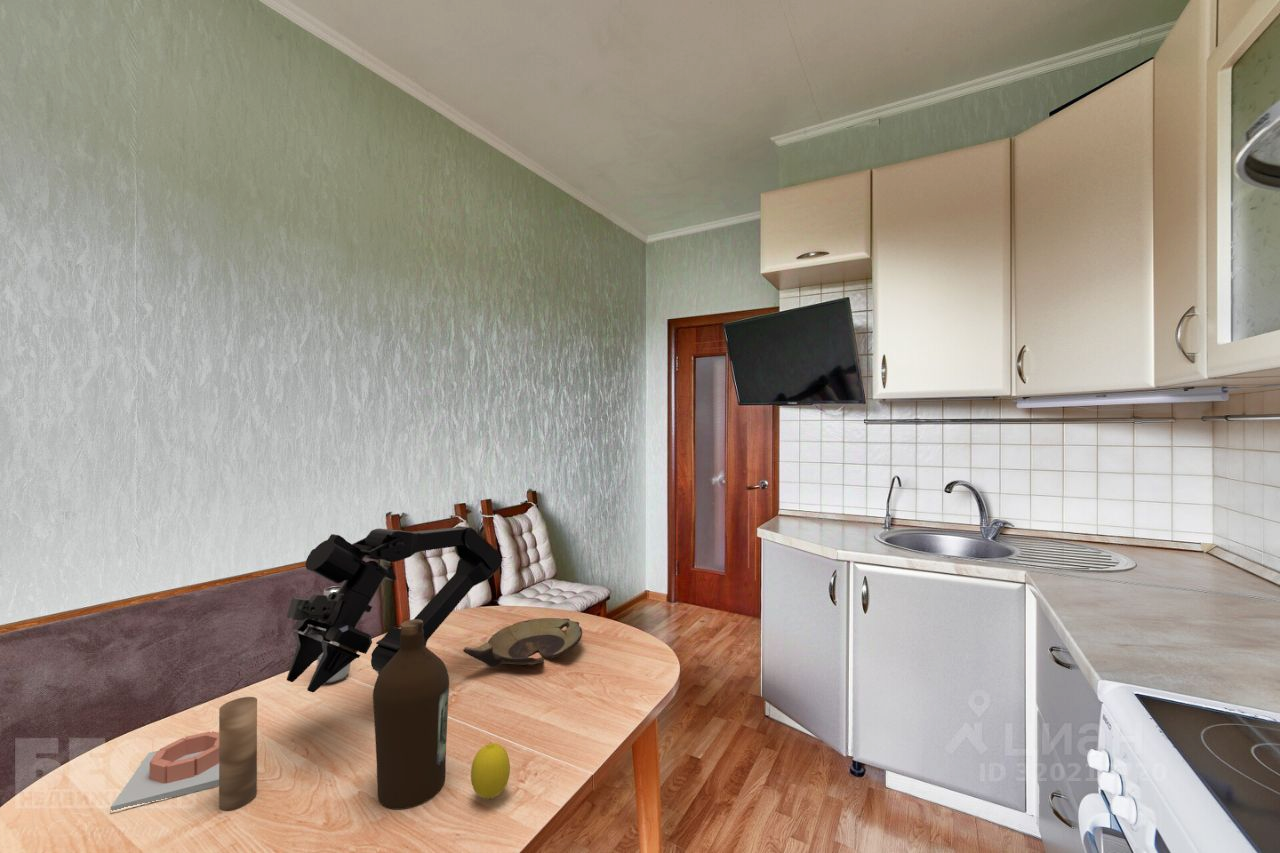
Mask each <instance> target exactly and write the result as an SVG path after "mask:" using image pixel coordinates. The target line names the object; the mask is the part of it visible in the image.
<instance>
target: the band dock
mask: <svg viewBox="0 0 1280 853" xmlns="http://www.w3.org/2000/svg"><path fill="white" fill-rule="evenodd" d="M216 787H219V731H214V730H212V731H206V732H201V733H197V734H192V735H187V736H185V737H181V738H180V739H177V740H175V741H173V742H171V743H169V744H167V745H165V746H163V747H161V748H160V749H159V750H156V751H151V752H148V753H147V754H146V756H145V757H144V758H143V760H142V762H141V763H140V765H139V766H138V767H137V768H136V770H135V772H134V773H133V774H132V776H131V777H130V778H129V780H128V782H127V783H126V785H125V786H124V787H123V789H122V790H121V792H120V793H119V794H118V796H117V798H116V799H115V800H114V802H113V803H112V804H111V806H110V811H111V810H112V811H113V810H117V809H121V808H124V807H128V806H133V805H137V804H142V803H148V802H152V801H156V800H161V799H165V798H170V797H174V798H176V797H175V796H178V797H180V796H179V795H182V796H185V795H184V794H186V795H188V793H189V794H192V793H196V792H197V793H198V792H200V791H201V792H202V791H204V790H209V789H212V788H213V789H214V788H216ZM170 799H171V798H170Z"/></svg>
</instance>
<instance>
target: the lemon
mask: <svg viewBox="0 0 1280 853" xmlns="http://www.w3.org/2000/svg"><path fill="white" fill-rule="evenodd" d="M470 771H471V772H470V781H471V786H472V788H473V791H474V792H475V794H477V795H478V796H479V797H481V798H482V799H483V798H484V799H489V800H492V799H493V798H495V797H497V796H498V795H500V794H501V793H502V792H503V790H504V789H505V788H506V786H507V784H508V782H509V778H510V773H511V772H510V771H511V763H510V758H509V755H508V752H507V750H506V749H505V747H504V746H502V745H501V744H499V743H494V742H489V743H488V744H485V745H484V746H482V747H481V748H480V749H478V751H477V752H476V754H475V756H474V758H473V760H472V764H471V770H470Z"/></svg>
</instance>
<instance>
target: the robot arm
mask: <svg viewBox="0 0 1280 853" xmlns="http://www.w3.org/2000/svg"><path fill="white" fill-rule="evenodd" d="M446 548H454V549H455V554H456V555H457V556H458V557H459V560H458V561H457V564H456V570H455V573H454V575H453V576H451V578H450V579H449V580H447V582H446V583H445V584H444V585H443V586H442V588H440V590H439V591H438V592H437V593H436V594H435V595H434V596H433V597H432V598H431V600H430V601H429V602H428V603H427V604H426V605H425V606H424V607H423V609H421V611H420V612H419V613H418V614H417V615H416V616H415V617H414V618H413V619H419V620H422V621H423V629H424V645H425V646H426V647H427V642H428V641H429V639H430V637H431V636H432V635H434V633H435V632H436V631H437V629H438V628H439V627H440V626H441V625H442V624H443V622H445V621H446V619H447V618H448V617H449V616H450V615H451V613H452V612H453V611H454V610H455V609H456V608H457V606H458V605H459V604H460V603H461V602H462V600H463V599H464V598H465V597H466V596H467V595H468V593H469V592H470V591H471V590H472V589H473V588H474V587H475V586H477V585H479V584H481V583H483V582H485V581H487V580H489V578H491V577H492V576H493V575H495V573H496V572H497V571H498V570H499V568H500V566H501V555H500V552H499V551H498V550H497V549H496V548H494V547H493V545H492V544H491V543H489V542H488V541H486V539H484V538H483V537H482V536H480V534H478V532H477V531H476V530H475V529H474V528H473V527H467V526H460V525H458V526H457V525H456V526H454V527H445V528H438V529H427V530H417V531H416V530H415V531H406V530H397V529H387V528H375V529H372V530H370V531H369V533H368V534H367V535H366V537H364V538H362V539H360V540H358V541H356V542H354V543H350V542H348V541H347V540H346V539H345V538H344V537H343V536H341V535H340V534H332V533H331V534H330V536H329V537H328V539H326V540H324V541H322V542H321V543H319V544H318V545H317V546H316V547H315V548H313V549H312V550H311V551H310V552H309V554H308V555H307V557H306V561H305V568H306V570H308V571H310V572H312V573H313V574H315V575H318V576H320V577H321V578H324V579H325V580H328V581H329V582H331V583H333V584H341V583H342V585H340V586H341V587H340V589H339V591H338V592H337V593H336V592H333V593H330V594H329V596H328V597H327V596H326V595H324V594H312V596H311V597H310V598H309V597H308V598H306V597H305V598H303V597H291V599H290V602H289V607H288V610H287V613H286V619H289V618H291V619H292V620H294V621H295V620H296V621H295V623H294V625H293V626H292V629H293V630H295V631H293V632H292V633H293V636H294V638H295V640H296V641H295V642H296V648H295V652H294V656H293V659H292V661H291V664H290V667H289V671H288V673H287V677H286V681H288V682H290V683H294V681H296V680H297V679H298V678H299V677H300V676H302V674H303V673H304V672H305V671H306V670H308V669H309V667H311V665H312V664H313V663H314V662H315V661H316V660H318V657H319V656H320V655H321V654H322V653H323V656H322V658H321V660H320V662H319V664H318V666H317V668H316V667H315V670H314V673H313V675H312V677H311V679H310V682H309V684H308V686H307V690H306V691H307V692H309V693H314V692H316V691H317V690H319V689H320V688H321V687H322V686H324V685H325V684H327V683H326V682H327V681H328V680H329V679H330V678H332V677H333V676H334V675H335V674H337V673H338V672H339V671H340V670H342V669H343V668H344V667H345V666H347V665H348V664H349V663H353V661H355V660H356V659H359V658H360V657H361V654H359V653H362V654H367V653H368V652H369V650H370V648H371V646H372V644H373V640H372V635H371V634H369V633H366V632H365V631H362V630H360V629H358V628H356V627H357V625H358V623H359V622H360V620H361V619H362V617H363V616H364V613H370V612H371V611H372V609H373V606H372V605H370V603H371V601H372V600H373V599H374V597H375V595H376V593H377V591H378V590H379V588H380V587H381V585H382V583H383V582H384V580H389V581H393V582H394V581H396V579H397V576H396V573H395V570H394V567H395V566H394V565H390V564H384V565H383V564H381V563H378V562H377V561H378V560H379V561H384V562H390V563H396V562H399V561H402V560H405V559H409V558H410V557H412V556H413V555H415V554H416V553H420V552H425V551H432V550H440V549H446ZM364 558H365V559H370V560H368V561H365V560H363V559H364ZM296 631H297V632H296ZM400 632H401V627H397V626H392V627H391V628H390V629H388V631H387V632H386V633H385V634H384V636H383V637H382V638H381V639H379V640H378V641H376V642H375V644H376V647H375V648H373V650H372V652H371V659H370V664H371V665H370V666H371V668H372V669H373V670H374V671H375V672H377V674H378V675H379V673H380V672H381V670H382V669H383V668H384V667H385V665H386V664H387V663H388V662H389V661H390V660H391V659H392V658H393V656H394V655H395V654H396V653H397V652H398V651H399V649H400ZM322 640H323V641H322ZM321 641H322V642H321ZM325 641H326V642H325ZM330 641H333V643H332V644H331V643H328V642H330ZM378 675H377V676H378Z"/></svg>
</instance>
